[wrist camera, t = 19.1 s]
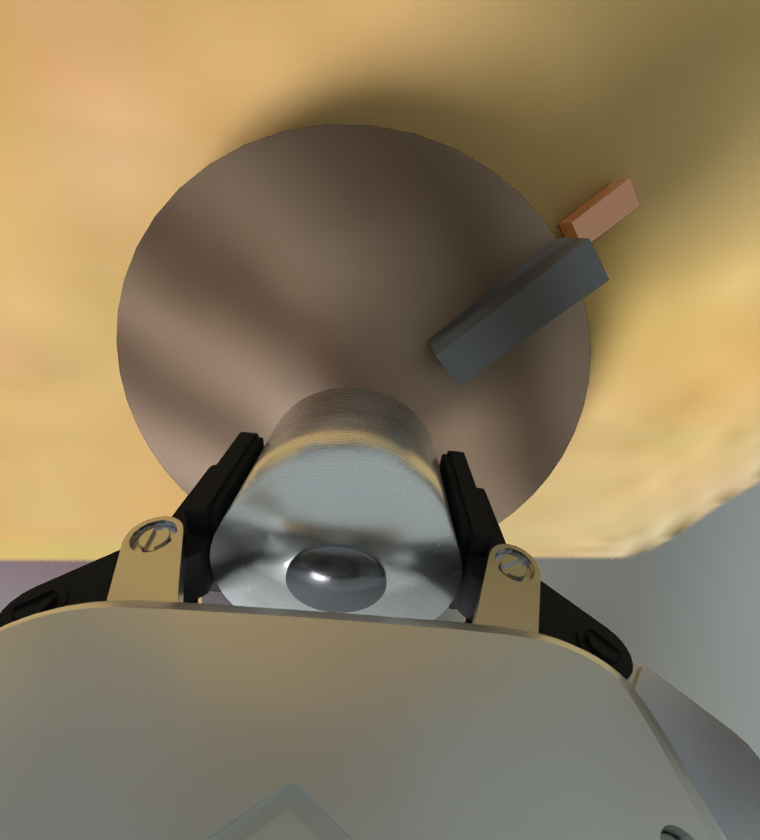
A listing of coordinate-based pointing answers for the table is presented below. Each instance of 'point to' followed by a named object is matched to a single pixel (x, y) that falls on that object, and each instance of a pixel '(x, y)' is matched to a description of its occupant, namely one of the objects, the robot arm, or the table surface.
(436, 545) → the aluminium cover
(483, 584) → the robot arm
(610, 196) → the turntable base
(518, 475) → the turntable
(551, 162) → the table surface
